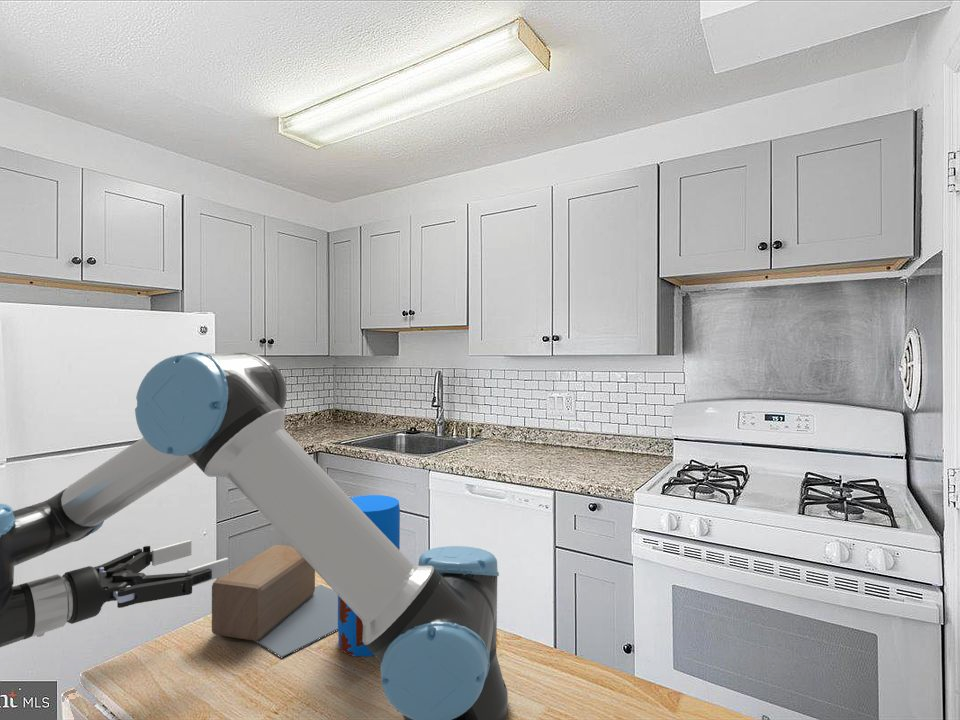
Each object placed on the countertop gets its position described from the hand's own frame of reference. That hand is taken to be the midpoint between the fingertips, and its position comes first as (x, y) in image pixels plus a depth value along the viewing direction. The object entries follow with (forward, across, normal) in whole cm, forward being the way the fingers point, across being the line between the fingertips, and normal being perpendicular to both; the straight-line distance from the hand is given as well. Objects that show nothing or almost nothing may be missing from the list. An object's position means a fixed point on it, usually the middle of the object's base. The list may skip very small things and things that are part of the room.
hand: (208, 556), depth 97 cm
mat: (+15, +7, -15) cm, 22 cm away
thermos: (+18, +23, -15) cm, 33 cm away
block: (+2, +5, -10) cm, 11 cm away
